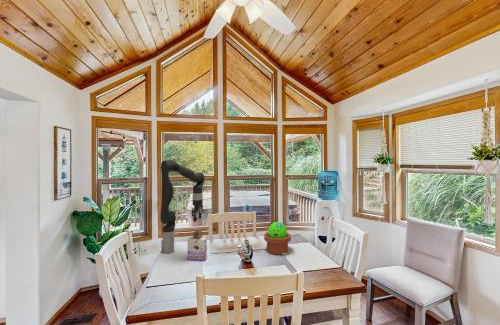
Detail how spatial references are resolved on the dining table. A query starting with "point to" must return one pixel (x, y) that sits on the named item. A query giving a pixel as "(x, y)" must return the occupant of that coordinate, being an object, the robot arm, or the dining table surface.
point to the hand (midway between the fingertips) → (197, 220)
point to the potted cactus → (277, 238)
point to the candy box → (197, 249)
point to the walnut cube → (197, 234)
